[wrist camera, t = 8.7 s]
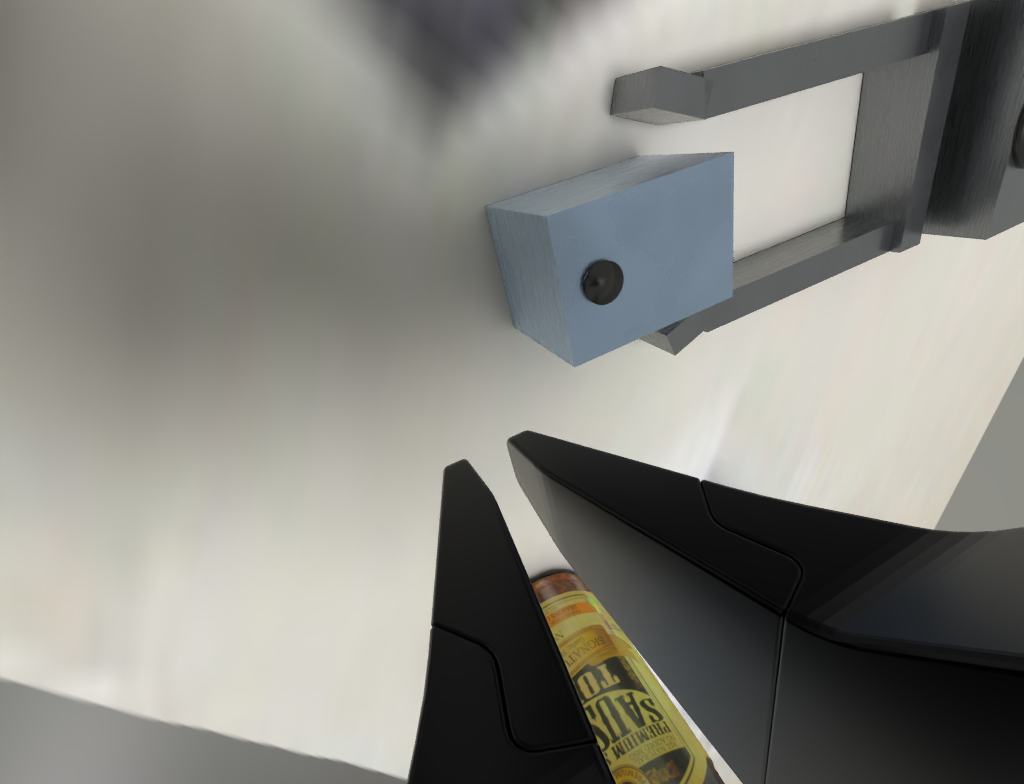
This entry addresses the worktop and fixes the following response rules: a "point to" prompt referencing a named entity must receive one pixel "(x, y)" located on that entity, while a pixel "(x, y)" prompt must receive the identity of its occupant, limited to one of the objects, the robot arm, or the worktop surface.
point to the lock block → (617, 251)
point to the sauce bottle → (620, 692)
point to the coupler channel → (873, 141)
